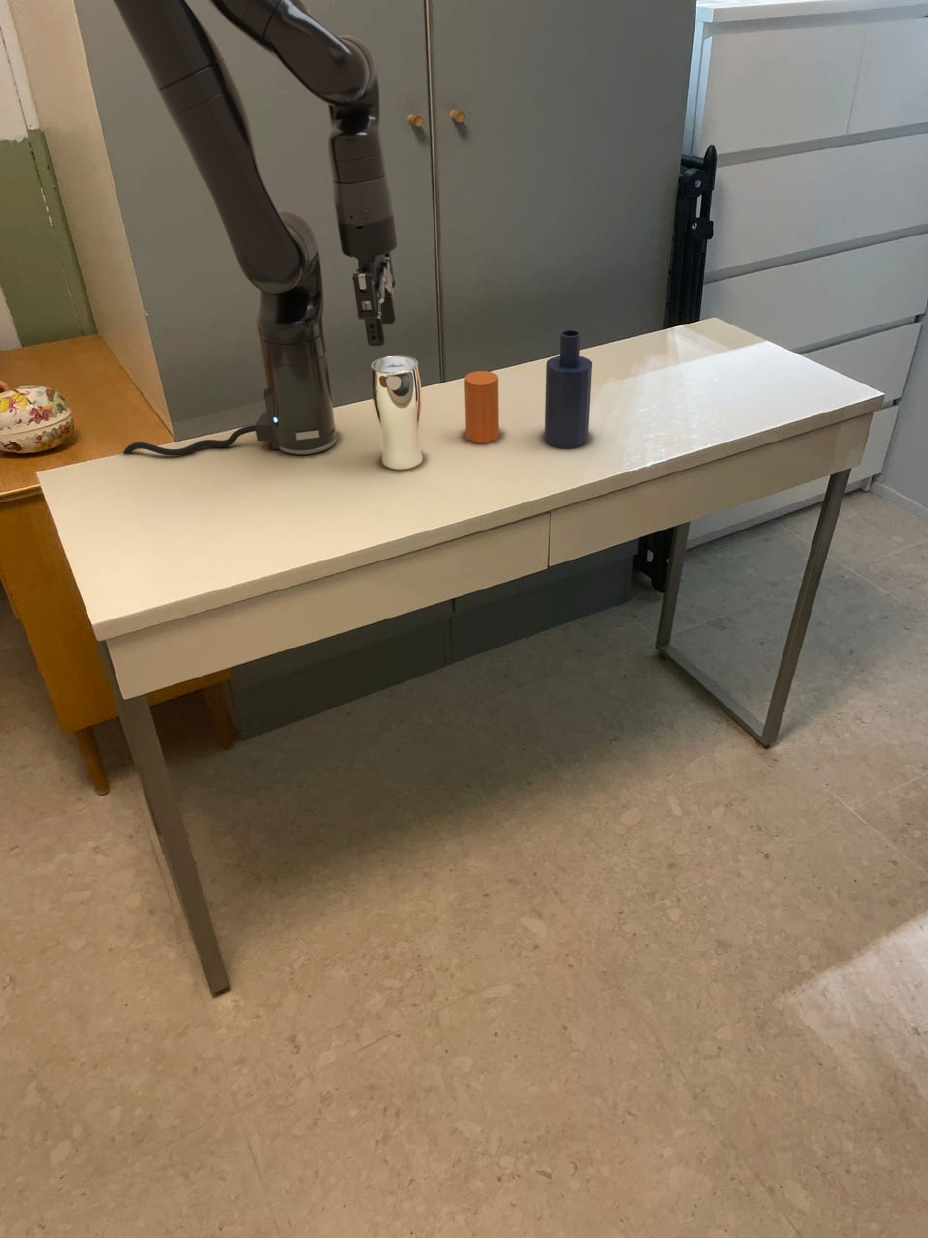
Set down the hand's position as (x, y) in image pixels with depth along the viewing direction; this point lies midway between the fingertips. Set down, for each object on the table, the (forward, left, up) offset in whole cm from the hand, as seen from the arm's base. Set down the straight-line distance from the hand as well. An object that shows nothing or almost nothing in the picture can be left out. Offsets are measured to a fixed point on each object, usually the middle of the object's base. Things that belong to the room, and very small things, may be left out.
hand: (382, 333), depth 133 cm
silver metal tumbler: (+3, -5, -18) cm, 18 cm away
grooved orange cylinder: (+14, +4, -17) cm, 22 cm away
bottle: (+27, +4, -17) cm, 32 cm away
